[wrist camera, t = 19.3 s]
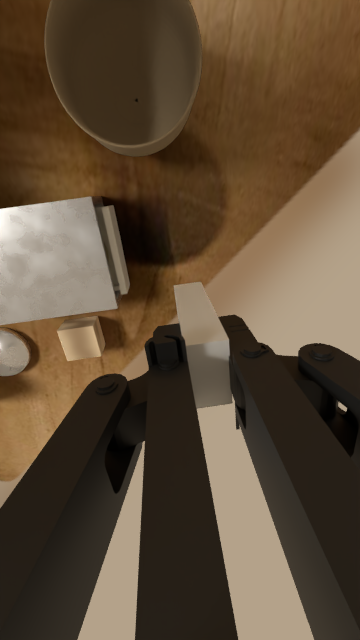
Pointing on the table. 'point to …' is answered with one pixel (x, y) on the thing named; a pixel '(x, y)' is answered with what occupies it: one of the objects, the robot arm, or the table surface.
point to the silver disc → (13, 352)
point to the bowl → (125, 68)
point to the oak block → (81, 338)
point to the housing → (53, 261)
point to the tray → (113, 247)
